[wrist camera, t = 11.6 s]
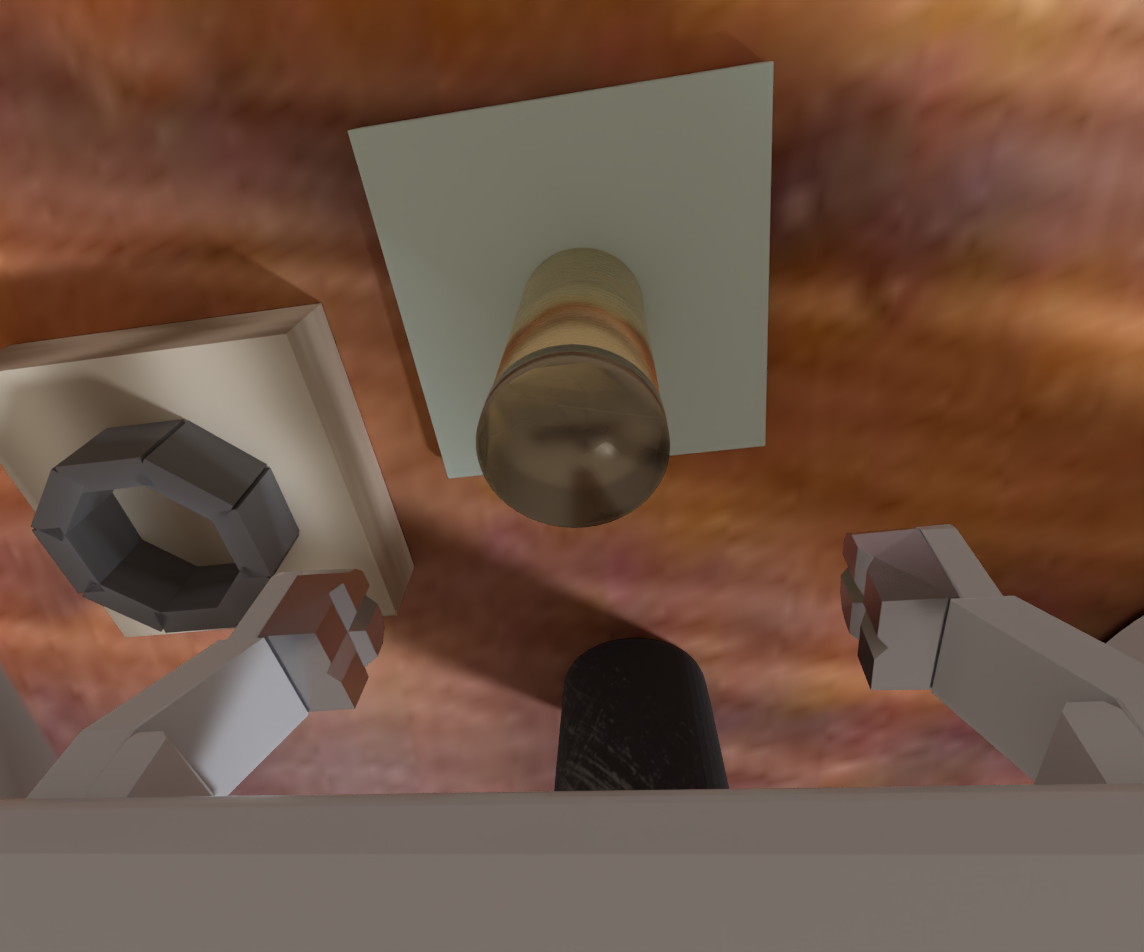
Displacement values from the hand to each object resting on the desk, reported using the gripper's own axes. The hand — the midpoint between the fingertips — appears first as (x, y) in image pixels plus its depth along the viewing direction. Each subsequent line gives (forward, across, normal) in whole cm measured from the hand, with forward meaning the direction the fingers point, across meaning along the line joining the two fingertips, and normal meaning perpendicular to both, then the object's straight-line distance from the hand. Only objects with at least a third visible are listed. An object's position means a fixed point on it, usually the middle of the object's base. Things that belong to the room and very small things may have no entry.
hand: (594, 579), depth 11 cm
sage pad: (+14, +1, -1) cm, 14 cm away
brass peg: (+12, +1, -1) cm, 12 cm away
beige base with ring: (+13, +16, +4) cm, 21 cm away
